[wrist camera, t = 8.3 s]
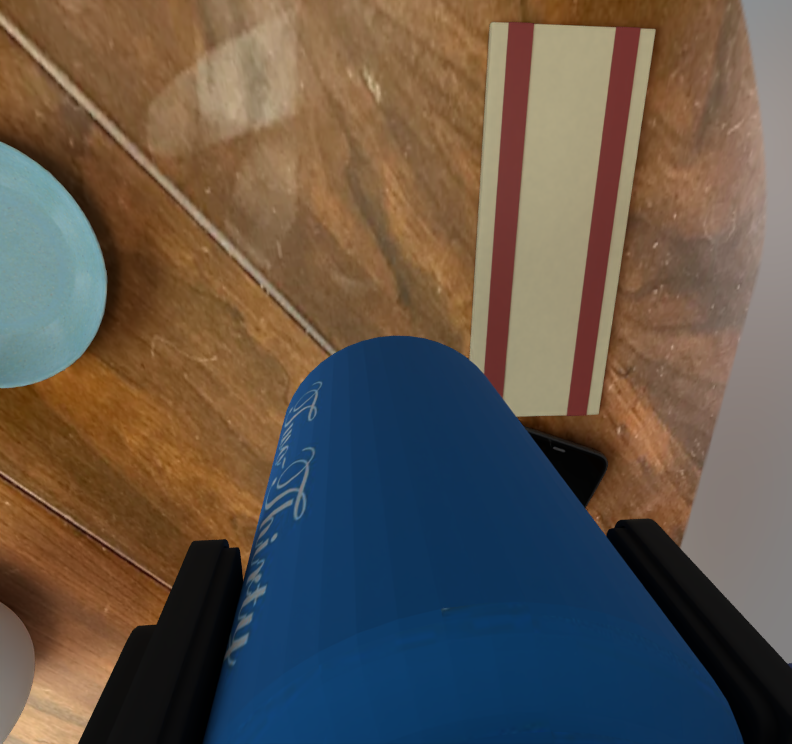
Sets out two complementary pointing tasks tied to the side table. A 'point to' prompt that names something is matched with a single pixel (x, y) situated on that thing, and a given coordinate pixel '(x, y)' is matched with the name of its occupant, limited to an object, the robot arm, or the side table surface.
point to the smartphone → (573, 463)
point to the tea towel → (554, 208)
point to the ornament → (14, 669)
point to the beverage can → (441, 581)
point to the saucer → (44, 274)
